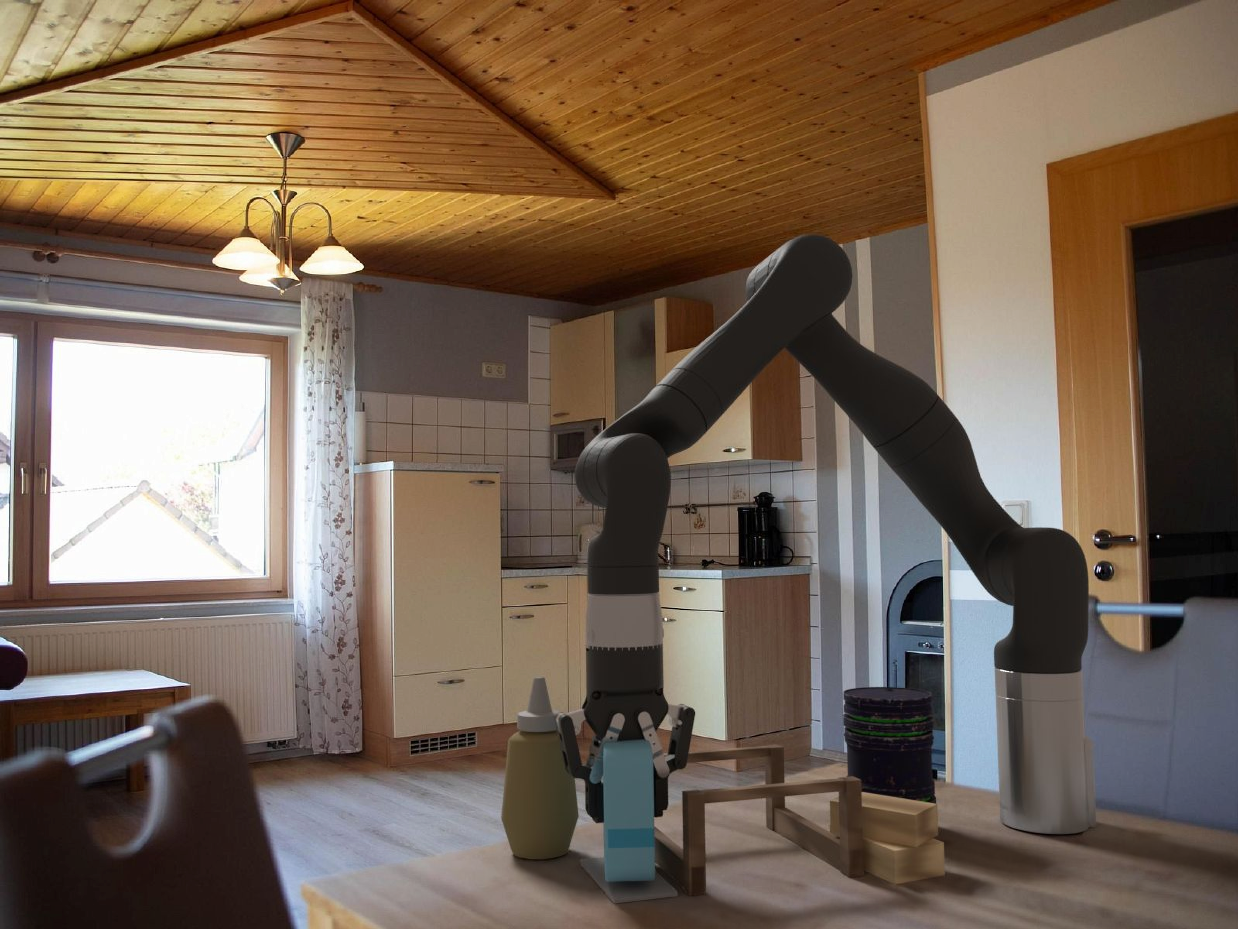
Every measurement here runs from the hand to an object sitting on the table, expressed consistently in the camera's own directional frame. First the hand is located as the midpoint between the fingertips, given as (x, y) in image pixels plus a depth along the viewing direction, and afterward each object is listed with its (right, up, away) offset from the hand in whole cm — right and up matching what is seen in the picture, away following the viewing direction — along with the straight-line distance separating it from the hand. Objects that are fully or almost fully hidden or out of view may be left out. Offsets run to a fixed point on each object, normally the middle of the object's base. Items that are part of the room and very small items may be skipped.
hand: (627, 817), depth 99 cm
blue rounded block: (0, -5, 0) cm, 5 cm away
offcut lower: (+26, -6, +3) cm, 27 cm away
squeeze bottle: (-9, -7, +8) cm, 14 cm away
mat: (0, -6, -1) cm, 6 cm away
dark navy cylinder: (+30, -7, +16) cm, 34 cm away
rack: (+12, -6, +6) cm, 14 cm away
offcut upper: (+26, -3, +3) cm, 26 cm away
